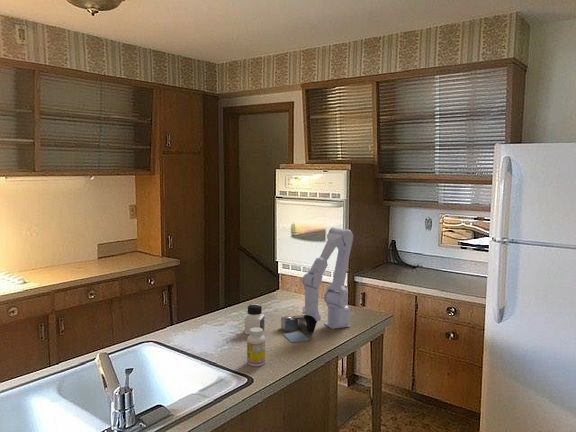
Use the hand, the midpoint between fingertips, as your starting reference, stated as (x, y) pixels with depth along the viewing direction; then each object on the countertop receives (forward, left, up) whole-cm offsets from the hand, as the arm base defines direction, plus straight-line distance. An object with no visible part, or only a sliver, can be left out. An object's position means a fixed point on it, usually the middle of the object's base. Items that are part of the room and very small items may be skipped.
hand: (311, 332), depth 208 cm
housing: (+3, -9, -1) cm, 10 cm away
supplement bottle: (+31, +20, -1) cm, 37 cm away
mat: (+8, +1, -1) cm, 8 cm away
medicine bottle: (+22, -11, -1) cm, 24 cm away
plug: (-1, -9, -1) cm, 9 cm away
